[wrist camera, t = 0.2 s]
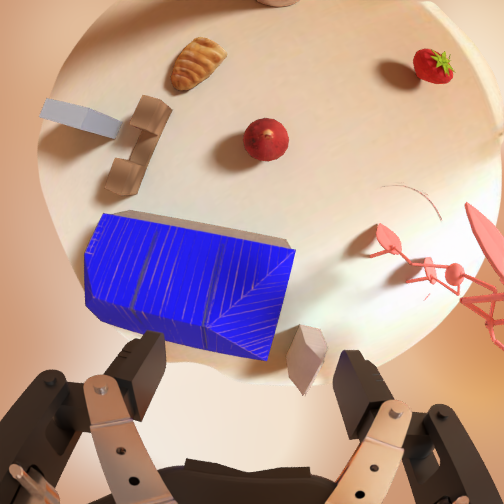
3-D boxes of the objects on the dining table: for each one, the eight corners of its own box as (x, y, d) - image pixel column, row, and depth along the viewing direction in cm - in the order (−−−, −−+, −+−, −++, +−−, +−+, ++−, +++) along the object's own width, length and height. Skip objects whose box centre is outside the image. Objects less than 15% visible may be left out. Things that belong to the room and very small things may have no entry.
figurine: (430, 305, 42) (558, 412, 8) (326, 235, 39) (525, 373, 5) (467, 236, 39) (613, 290, 5) (373, 150, 36) (584, 102, 2)
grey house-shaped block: (285, 356, 44) (291, 394, 35) (299, 324, 43) (310, 359, 33) (305, 360, 44) (314, 397, 35) (320, 328, 43) (334, 363, 33)
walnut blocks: (156, 105, 35) (142, 94, 30) (172, 109, 35) (160, 99, 30) (121, 187, 38) (104, 188, 33) (137, 194, 38) (120, 195, 33)
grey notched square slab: (74, 126, 36) (38, 117, 26) (81, 110, 35) (46, 98, 25) (115, 139, 36) (80, 129, 27) (122, 122, 36) (89, 108, 26)
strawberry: (401, 54, 32) (428, 32, 22) (434, 72, 32) (465, 55, 22) (400, 79, 33) (430, 59, 23) (434, 97, 33) (467, 83, 23)
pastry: (196, 99, 35) (190, 91, 31) (162, 84, 35) (154, 75, 31) (231, 54, 33) (228, 43, 30) (196, 40, 33) (191, 29, 29)
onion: (250, 167, 37) (248, 162, 30) (240, 130, 36) (236, 116, 28) (289, 158, 37) (298, 151, 29) (279, 121, 36) (285, 105, 28)
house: (123, 300, 43) (75, 346, 27) (129, 207, 39) (69, 220, 24) (265, 332, 43) (268, 397, 28) (288, 237, 40) (307, 268, 24)
